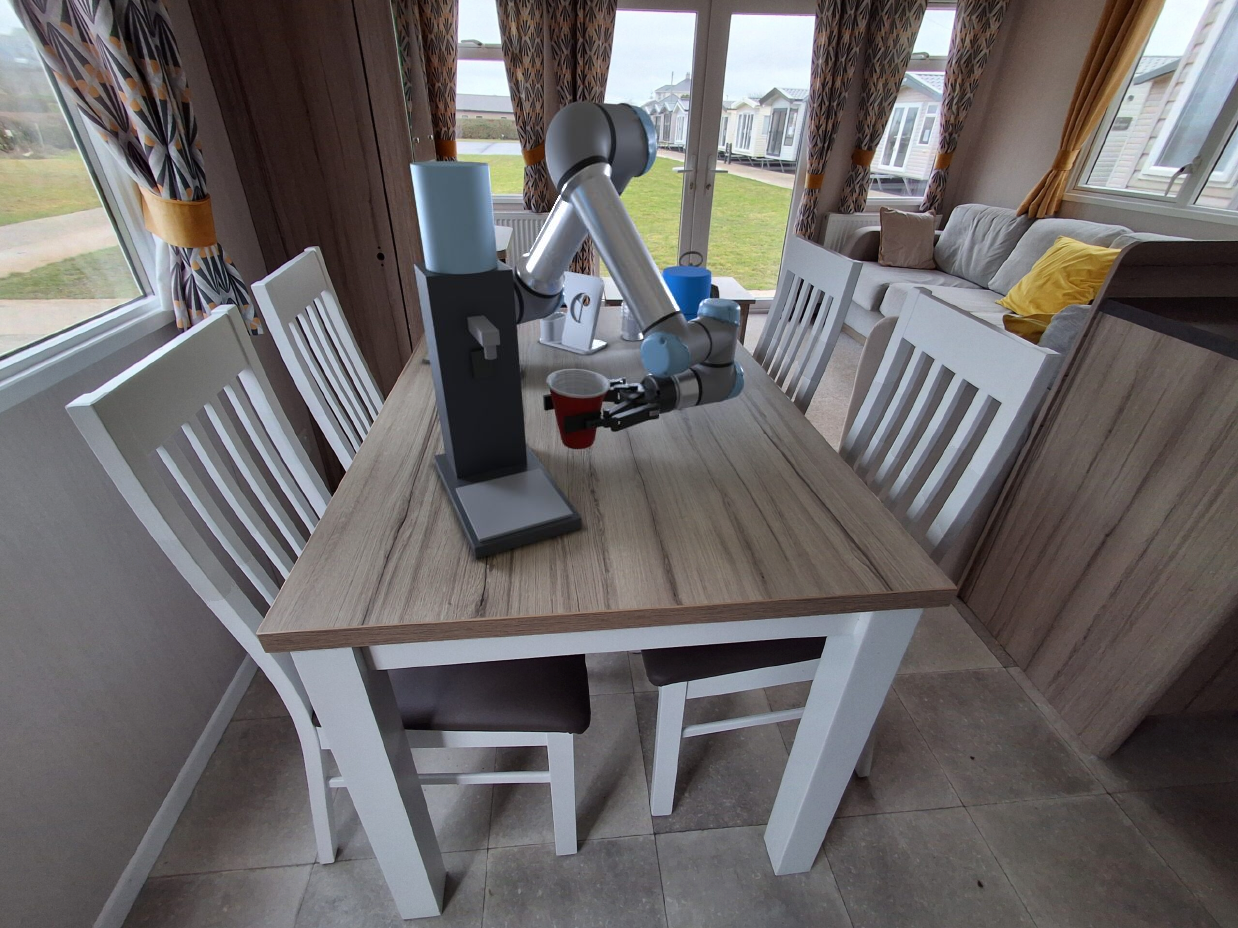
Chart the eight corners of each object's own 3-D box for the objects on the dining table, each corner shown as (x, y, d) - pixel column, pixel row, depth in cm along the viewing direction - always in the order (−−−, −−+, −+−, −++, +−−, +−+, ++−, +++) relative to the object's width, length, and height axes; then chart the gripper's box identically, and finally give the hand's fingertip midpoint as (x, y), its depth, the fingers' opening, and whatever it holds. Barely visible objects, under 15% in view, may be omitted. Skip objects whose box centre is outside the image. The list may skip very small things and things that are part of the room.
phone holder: (536, 341, 154) (532, 274, 145) (560, 332, 161) (557, 268, 152) (586, 355, 146) (585, 285, 136) (608, 345, 153) (609, 277, 144)
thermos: (649, 383, 131) (655, 273, 118) (663, 367, 140) (670, 264, 126) (694, 391, 128) (705, 279, 115) (706, 374, 136) (717, 268, 123)
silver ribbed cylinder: (632, 331, 163) (634, 279, 155) (649, 337, 159) (652, 284, 151) (615, 336, 159) (616, 283, 151) (633, 342, 155) (634, 288, 147)
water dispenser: (434, 464, 98) (380, 161, 74) (521, 445, 105) (498, 161, 80) (476, 559, 77) (419, 179, 53) (581, 528, 84) (575, 177, 59)
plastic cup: (602, 460, 94) (602, 396, 88) (540, 453, 96) (537, 389, 90) (615, 431, 103) (616, 370, 97) (559, 424, 105) (557, 364, 99)
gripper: (698, 434, 97) (579, 462, 88) (639, 388, 113) (533, 408, 104) (702, 395, 93) (579, 420, 84) (641, 353, 110) (531, 371, 100)
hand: (554, 414), depth 94 cm, fingers closed on plastic cup, 9 cm apart
